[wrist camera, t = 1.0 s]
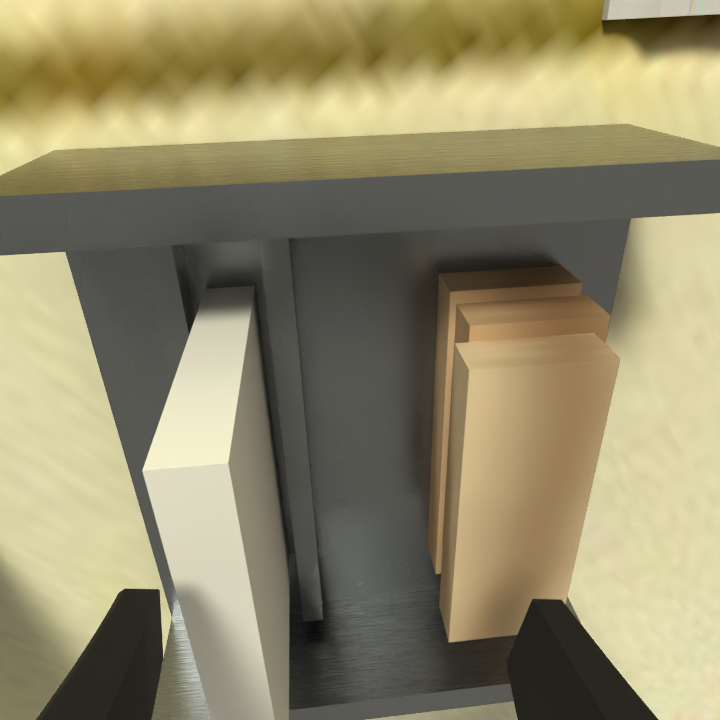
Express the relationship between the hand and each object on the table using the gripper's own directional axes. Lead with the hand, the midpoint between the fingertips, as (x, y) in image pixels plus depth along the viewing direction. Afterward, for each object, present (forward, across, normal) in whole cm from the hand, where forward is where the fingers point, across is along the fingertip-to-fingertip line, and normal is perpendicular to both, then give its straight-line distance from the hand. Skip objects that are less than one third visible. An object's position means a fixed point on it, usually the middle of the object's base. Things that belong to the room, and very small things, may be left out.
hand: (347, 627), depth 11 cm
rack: (+11, -1, +2) cm, 11 cm away
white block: (+9, +2, +3) cm, 10 cm away
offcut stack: (+10, -6, +2) cm, 11 cm away
